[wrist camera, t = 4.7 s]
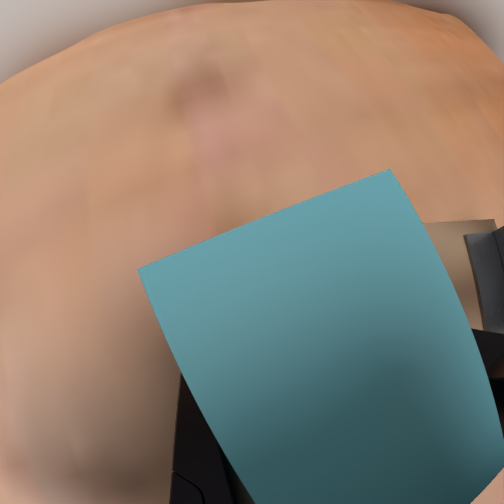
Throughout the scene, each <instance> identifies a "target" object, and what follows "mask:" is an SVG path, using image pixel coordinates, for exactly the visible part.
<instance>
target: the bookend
mask: <svg viewBox="0 0 504 504" xmlns="http://www.w3.org/2000/svg"><path fill="white" fill-rule="evenodd" d="M463 237H464V240H465V244H466V248H467V252H468V255H469V259H470V263H471V268H472V272H473V276H474V281H475V285H476V290H477V295H478V300H479V306H480V312H481V318H482V324H483V330H484V331H490V332H497V333H503V334H504V226H503V227H501V228H499V229H497V230H495V231H493V232H483V233H474V234H466V235H464V236H463Z"/></svg>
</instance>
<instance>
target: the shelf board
mask: <svg viewBox="0 0 504 504" xmlns="http://www.w3.org/2000/svg"><path fill="white" fill-rule="evenodd" d="M422 224H423V226H424V227H425V229H426V231H427V233H428V235H429V237H430V239H431V241H432V243H433V245H434V247H435V248H436V250H437V252H438V254H439V257H440V259H441V261H442V263H443V265H444V267H445V269H446V271H447V273H448V275H449V277H450V280H451V282H452V284H453V286H454V289H455V291H456V293H457V295H458V298H459V300H460V302H461V305H462V307H463V310H464V312H465V315H466V317H467V320H468V322H469V325H470V327H471V328H473V329H478V330H483V324H482V318H481V312H480V306H479V300H478V295H477V290H476V285H475V281H474V276H473V272H472V268H471V263H470V259H469V255H468V252H467V248H466V244H465V240H464V237H463V236H464V235H466V234H474V233H483V232H493V231H495V230H497V227H496V224H495V221H494V219H488V220H470V221H453V222H437V223H422Z"/></svg>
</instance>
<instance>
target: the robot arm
mask: <svg viewBox="0 0 504 504" xmlns="http://www.w3.org/2000/svg"><path fill="white" fill-rule="evenodd" d="M471 330H472V333H473V335H474V338H475V341H476V343H477V346H478V349H479V352H480V355H481V358H482V361H483V364H484V367H485V370H486V373H487V376H488V380H489V383H490V387H491V390H492V394H493V397H494V401H495V405H496V408H497V412H498V416H499V421H500V425H501V429H502V434H503V439H504V334H503V333H497V332H490V331H484V330H478V329H473V328H471ZM172 471H173V472H172V475H171V489H170V500H169V504H256V503H255V502H254V500H253V498H252V497H251V495H250V494H249V492H248V491H247V489H246V488H245V486H244V484H243V483H242V481H241V480H240V478H239V476H238V475H237V473H236V472H235V470H234V468H233V467H232V465H231V463H230V462H229V460H228V458H227V457H226V455H225V453H224V452H223V450H222V448H221V446H220V445H219V443H218V441H217V439H216V438H215V436H214V434H213V432H212V430H211V429H210V427H209V425H208V423H207V421H206V419H205V418H204V416H203V414H202V412H201V410H200V408H199V406H198V404H197V402H196V400H195V398H194V397H193V395H192V393H191V391H190V389H189V387H188V385H187V383H186V381H185V379H184V377H183V374H182V372H181V374H180V383H179V393H178V403H177V413H176V424H175V436H174V448H173V462H172Z"/></svg>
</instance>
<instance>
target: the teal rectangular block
mask: <svg viewBox="0 0 504 504" xmlns="http://www.w3.org/2000/svg"><path fill="white" fill-rule="evenodd" d="M137 270H138V273H139V276H140V278H141V281H142V283H143V286H144V288H145V291H146V293H147V296H148V298H149V301H150V303H151V306H152V308H153V310H154V313H155V315H156V317H157V320H158V322H159V324H160V327H161V329H162V331H163V334H164V336H165V338H166V340H167V343H168V345H169V347H170V349H171V351H172V353H173V356H174V358H175V360H176V362H177V364H178V366H179V368H180V370H181V372H182V374H183V377H184V379H185V381H186V383H187V385H188V387H189V389H190V391H191V393H192V395H193V397H194V398H195V400H196V402H197V404H198V406H199V408H200V410H201V412H202V414H203V416H204V418H205V419H206V421H207V423H208V425H209V427H210V429H211V430H212V432H213V434H214V436H215V438H216V439H217V441H218V443H219V445H220V446H221V448H222V450H223V452H224V453H225V455H226V457H227V458H228V460H229V462H230V463H231V465H232V467H233V468H234V470H235V472H236V473H237V475H238V476H239V478H240V480H241V481H242V483H243V484H244V486H245V488H246V489H247V491H248V492H249V494H250V495H251V497H252V498H253V500H254V502H255V503H256V504H470V503H471V502H472V501H473V500H474V499H475V498H476V497H477V496H478V495H479V494H480V493H481V492H482V491H483V490H484V489H485V488H486V487H487V486H488V485H489V483H490V482H491V481H492V480H493V479H494V478H495V477H496V476H497V474H498V473H499V472H500V471H501V470H502V469H503V467H504V439H503V434H502V429H501V425H500V421H499V416H498V412H497V408H496V405H495V401H494V397H493V394H492V390H491V387H490V383H489V380H488V376H487V373H486V370H485V367H484V364H483V361H482V358H481V355H480V352H479V349H478V346H477V343H476V341H475V338H474V335H473V333H472V330H471V327H470V325H469V322H468V320H467V317H466V315H465V312H464V310H463V307H462V305H461V302H460V300H459V298H458V295H457V293H456V291H455V289H454V286H453V284H452V282H451V280H450V277H449V275H448V273H447V271H446V269H445V267H444V265H443V263H442V261H441V259H440V257H439V254H438V252H437V250H436V248H435V247H434V245H433V243H432V241H431V239H430V237H429V235H428V233H427V231H426V229H425V227H424V226H423V224H422V222H421V220H420V218H419V216H418V215H417V213H416V211H415V209H414V208H413V206H412V204H411V202H410V201H409V199H408V197H407V196H406V194H405V192H404V191H403V189H402V187H401V186H400V184H399V182H398V181H397V179H396V177H395V176H394V174H393V173H392V171H391V170H390V169H388V170H386V171H383V172H380V173H378V174H375V175H372V176H369V177H367V178H364V179H361V180H359V181H356V182H353V183H351V184H348V185H345V186H343V187H340V188H337V189H335V190H332V191H329V192H327V193H324V194H322V195H319V196H316V197H314V198H311V199H309V200H306V201H303V202H301V203H298V204H296V205H293V206H291V207H288V208H285V209H283V210H280V211H278V212H275V213H273V214H270V215H268V216H265V217H263V218H260V219H258V220H255V221H253V222H250V223H248V224H245V225H243V226H240V227H238V228H235V229H233V230H230V231H228V232H225V233H223V234H220V235H218V236H215V237H213V238H211V239H208V240H206V241H203V242H201V243H198V244H196V245H194V246H191V247H189V248H186V249H184V250H182V251H179V252H177V253H174V254H172V255H170V256H167V257H165V258H162V259H160V260H158V261H155V262H153V263H151V264H148V265H146V266H144V267H141V268H139V269H137Z"/></svg>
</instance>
